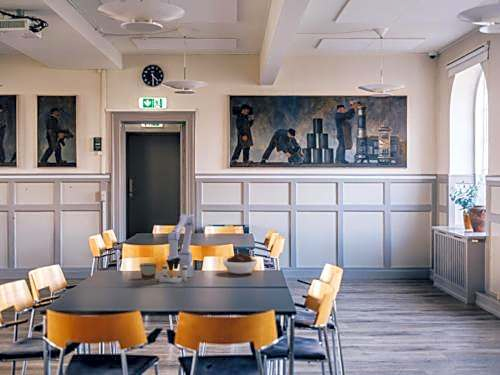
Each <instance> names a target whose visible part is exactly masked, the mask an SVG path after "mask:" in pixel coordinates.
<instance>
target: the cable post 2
mask: <svg viewBox="0 0 500 375" xmlns="http://www.w3.org/2000/svg"><path fill="white" fill-rule="evenodd" d="M182 277H183V281H182V282H188V277H187V266H182Z"/></svg>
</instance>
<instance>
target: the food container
mask: <svg viewBox="0 0 500 375" xmlns="http://www.w3.org/2000/svg"><path fill="white" fill-rule="evenodd" d="M139 268H140V276H141V277H140V278H141V279H143V280H144V279H146V280H150V279H153V280H155V279H156V275H157V273H156V272H157V268H158V265H157V263H155V262H148V263H147V262H144V263H140V264H139Z"/></svg>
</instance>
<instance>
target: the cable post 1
mask: <svg viewBox="0 0 500 375" xmlns="http://www.w3.org/2000/svg"><path fill="white" fill-rule="evenodd" d="M161 269H162V270H161V271H162V272H161V273H162V274H161V277H162V276H164V275H167V276H168V264H162V266H161Z"/></svg>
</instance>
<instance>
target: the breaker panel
mask: <svg viewBox="0 0 500 375" xmlns="http://www.w3.org/2000/svg"><path fill="white" fill-rule="evenodd" d="M158 277H159V278H158V282H159V283H169V284H170V283H174V284H180V283H182V282H184V281H183V277H181V276H177V275H175V276H170V275H168V274H167V275H164V276H162V275H161V276H158Z"/></svg>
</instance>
